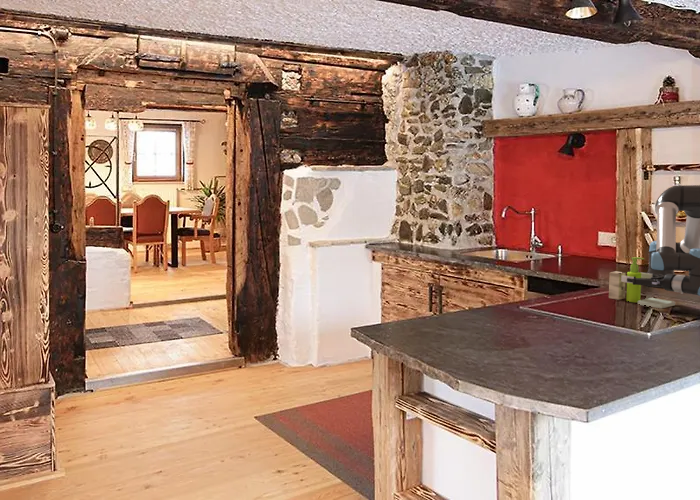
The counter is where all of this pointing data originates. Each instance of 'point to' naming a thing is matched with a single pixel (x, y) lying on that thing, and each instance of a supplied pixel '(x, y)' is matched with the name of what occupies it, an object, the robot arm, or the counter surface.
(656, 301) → the sage pad
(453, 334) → the counter surface
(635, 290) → the soap dispenser
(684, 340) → the counter surface
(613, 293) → the birch post
